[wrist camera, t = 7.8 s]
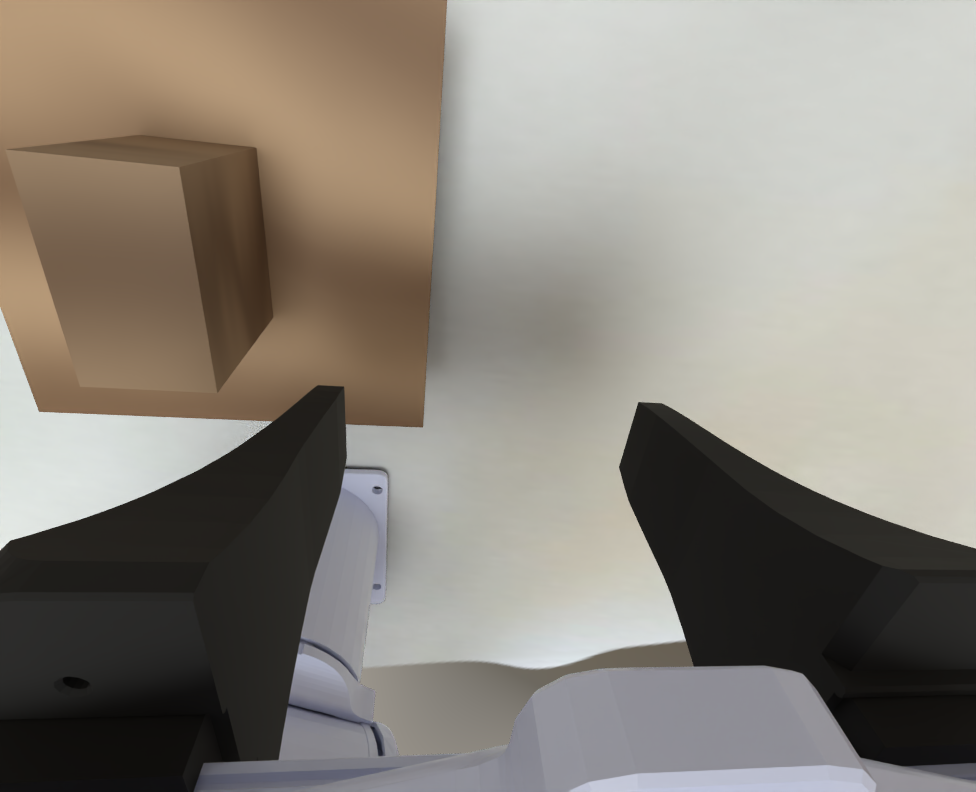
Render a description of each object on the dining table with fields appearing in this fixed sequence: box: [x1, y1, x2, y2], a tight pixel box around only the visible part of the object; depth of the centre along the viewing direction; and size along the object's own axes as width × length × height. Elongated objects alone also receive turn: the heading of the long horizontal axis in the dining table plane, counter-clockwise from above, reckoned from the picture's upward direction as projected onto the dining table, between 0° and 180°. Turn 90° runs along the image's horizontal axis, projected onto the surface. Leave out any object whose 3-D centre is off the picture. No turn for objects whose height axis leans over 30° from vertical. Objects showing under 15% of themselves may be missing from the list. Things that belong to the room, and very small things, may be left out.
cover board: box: [0, 0, 447, 427], centre depth 13 cm, size 13×13×6 cm
